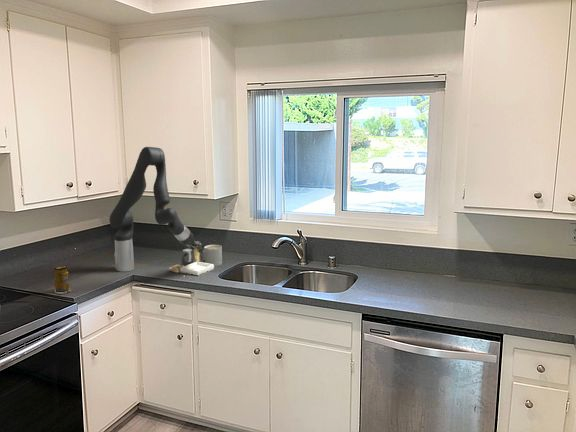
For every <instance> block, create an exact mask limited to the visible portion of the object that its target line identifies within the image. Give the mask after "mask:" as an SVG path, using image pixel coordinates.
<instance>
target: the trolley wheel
mask: <svg viewBox="0 0 576 432" xmlns="http://www.w3.org/2000/svg"><path fill="white" fill-rule="evenodd" d="M192 251H193V250H192V249H190V248H185V249H182V253H183V256H182V257H181V264H182V266H187V265H189V264H192V263H194V255H192Z"/></svg>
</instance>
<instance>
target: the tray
mask: <svg viewBox="0 0 576 432" xmlns="http://www.w3.org/2000/svg"><path fill="white" fill-rule="evenodd" d="M214 269H215V266H214V264H209V263H205V262H204V261H193V263H192V264H189V265H187V266H184V267H181V268H180V272H179V273H181V274H186V273H187V274H188V275H191V274H193V276H196V275H198V276H200V274H201V275H203V274H205V273H208V272H210V271H212V270H214ZM207 271H208V272H207ZM202 273H203V274H202Z"/></svg>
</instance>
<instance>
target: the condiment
mask: <svg viewBox="0 0 576 432" xmlns="http://www.w3.org/2000/svg"><path fill="white" fill-rule="evenodd" d="M53 277H54V287H55V289H54V290H56V292H65V291H68V290H69V289H70V280H69V279H70V278H69V272H68V266H66V265H58V266H55V267H54V273H53ZM68 292H69V291H68Z"/></svg>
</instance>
